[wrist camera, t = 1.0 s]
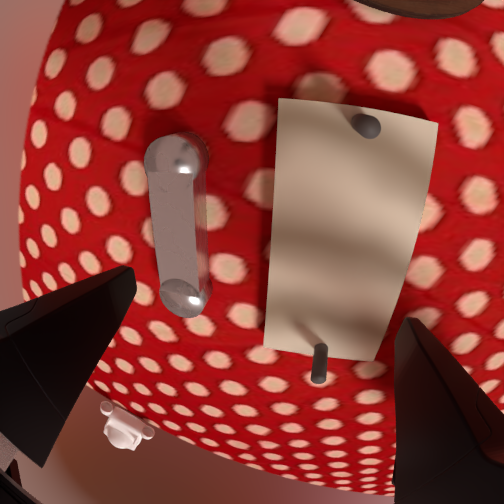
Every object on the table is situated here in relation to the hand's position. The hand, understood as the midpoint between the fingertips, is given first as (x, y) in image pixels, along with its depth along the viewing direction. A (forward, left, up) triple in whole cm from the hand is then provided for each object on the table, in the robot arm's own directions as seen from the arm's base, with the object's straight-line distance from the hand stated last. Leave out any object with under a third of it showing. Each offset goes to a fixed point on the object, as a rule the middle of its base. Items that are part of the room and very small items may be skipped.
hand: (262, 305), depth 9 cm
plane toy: (-48, +27, -13) cm, 57 cm away
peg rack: (-4, -4, -13) cm, 14 cm away
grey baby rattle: (-4, +8, -13) cm, 16 cm away
